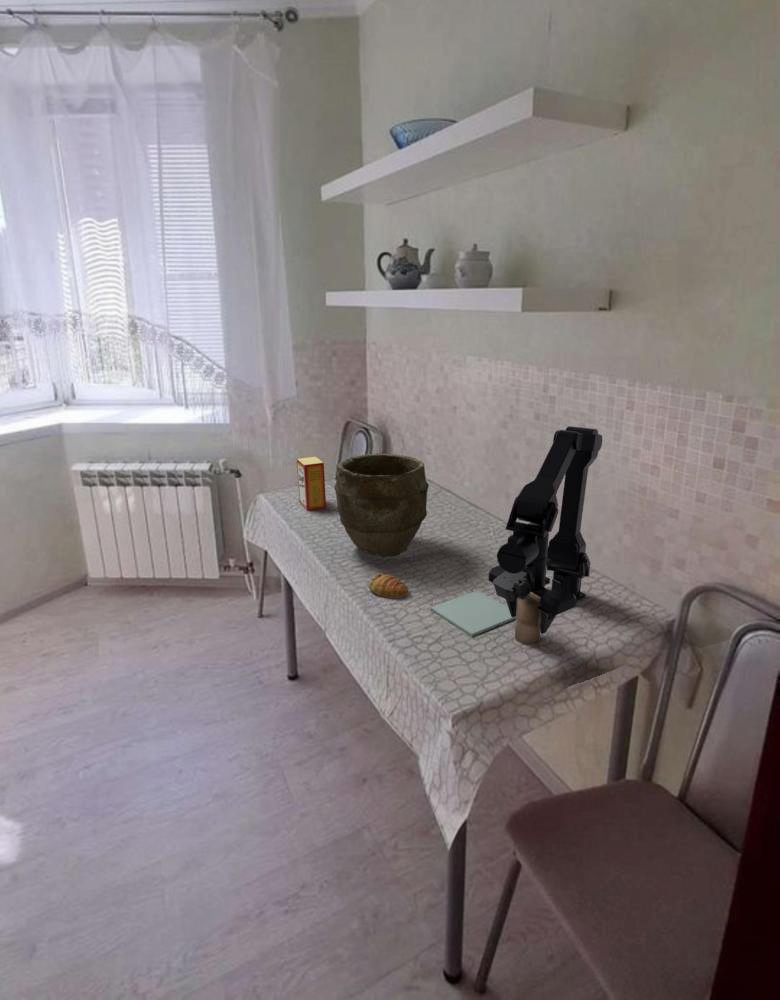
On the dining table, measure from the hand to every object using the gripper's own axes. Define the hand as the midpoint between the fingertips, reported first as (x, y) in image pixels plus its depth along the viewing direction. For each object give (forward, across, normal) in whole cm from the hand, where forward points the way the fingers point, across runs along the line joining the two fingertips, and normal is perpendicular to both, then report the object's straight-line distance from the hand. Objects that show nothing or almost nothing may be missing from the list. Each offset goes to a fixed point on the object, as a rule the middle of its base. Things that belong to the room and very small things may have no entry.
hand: (528, 624), depth 126 cm
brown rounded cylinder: (+3, 0, 0) cm, 3 cm away
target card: (+3, -14, -2) cm, 14 cm away
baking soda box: (+3, -102, +3) cm, 102 cm away
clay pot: (+3, -57, +2) cm, 57 cm away
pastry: (+4, -34, -11) cm, 36 cm away
